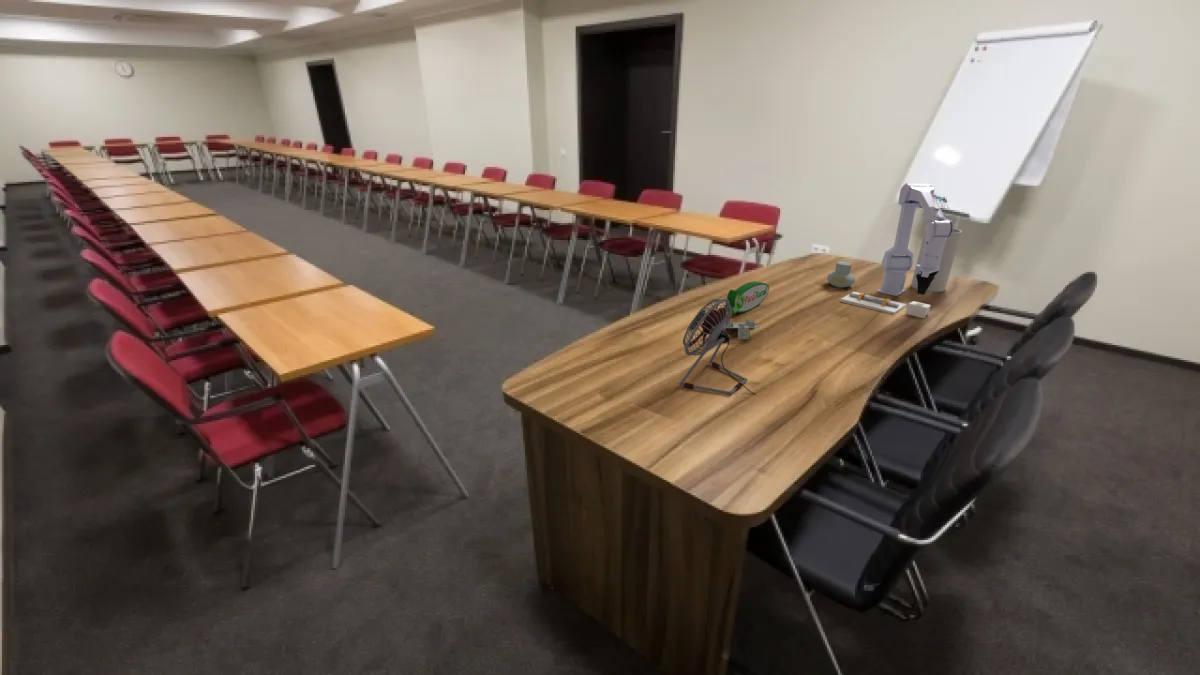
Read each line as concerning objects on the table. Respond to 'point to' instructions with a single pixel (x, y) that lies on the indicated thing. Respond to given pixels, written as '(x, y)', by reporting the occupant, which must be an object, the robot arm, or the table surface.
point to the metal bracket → (743, 328)
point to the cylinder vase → (945, 263)
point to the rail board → (873, 304)
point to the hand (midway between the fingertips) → (922, 291)
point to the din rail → (874, 300)
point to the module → (918, 309)
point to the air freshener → (841, 275)
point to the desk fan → (710, 339)
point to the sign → (747, 296)
